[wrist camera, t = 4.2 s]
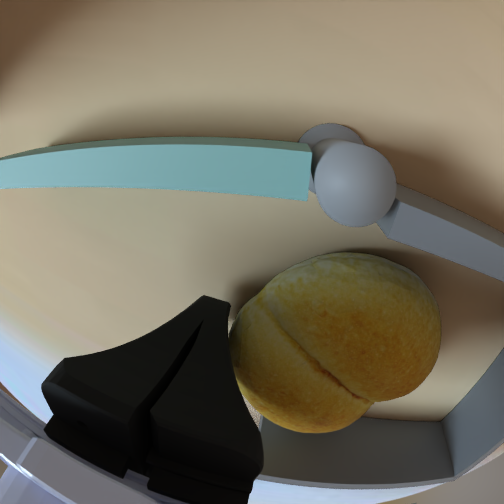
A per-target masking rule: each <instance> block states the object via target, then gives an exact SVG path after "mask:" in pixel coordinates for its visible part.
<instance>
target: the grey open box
mask: <svg viewBox="0 0 504 504" xmlns="http://www.w3.org/2000/svg"><path fill="white" fill-rule="evenodd" d="M327 138H336V139H341V140H345V141H349V142H353V143H357V144H360V145H364V143H363V141H362V140H361V138H360V137H359V136H358V135H357V134H356V133H355V132H354V131H352V130H351V129H349V128H347V127H345V126H342V125H339V124H333V123H327V124H321V125H318V126H315V127H313V128H311V129H310V130H308V131H307V132H306V133H305V134H304V135H303V136H302V137H301V138H300V140H299V141H298V143H307V144H308V146H309V148H310V149H311V150H312V148H313V147H314V146H315V145H316V144H317V143H318V142H319V141H321V140H323V139H327ZM364 146H365V145H364ZM396 185H397V189H396V195H395V199H394V202H393V204H392V206H391V208H390V209H389V211H388V212H387V213H386V214H385V215H384V216H383V217H382V218H381V219H380V220H378V221H377V222H376V223H377V224H378V226H379V227H380V228H381V230H382V231H383V232H384V234H385V235H386V237H387V238H389V239H392V240H395V241H398V242H400V243H403V244H406V245H409V246H412V247H415V248H418V249H420V250H423V251H426V252H429V253H431V254H434V255H437V256H439V257H442V258H445V259H447V260H450V261H453V262H455V263H458V264H460V265H463V266H466V267H468V268H471V269H473V270H476V271H478V272H481V273H483V274H486V275H488V276H491V277H493V278H495V279H498V280H500V281H503V282H504V233H502V232H500V231H498V230H496V229H495V228H493V227H491V226H489V225H487V224H485V223H483V222H481V221H479V220H477V219H475V218H473V217H471V216H469V215H467V214H465V213H463V212H461V211H459V210H457V209H455V208H453V207H451V206H449V205H446V204H444V203H442V202H440V201H438V200H435V199H433V198H431V197H429V196H426V195H424V194H422V193H419V192H417V191H414V190H412V189H410V188H407V187H405V186H402V185H400V184H397V183H396ZM309 190H310V191H312V192H313V193H315V194H316V190H315V186H314V182H313V178H312V174H311V170H310V180H309ZM259 431H260V433H261V438H262V443H263V451H264V466H263V470H262V472H261V473H260V474H259V475H258V477H257V478H256V479H258V480H264V481H270V482H276V483H282V484H290V485H298V486H307V487H318V488H332V489H390V488H404V487H415V486H424V485H431V484H438V483H444V482H450V481H454V480H456V479H457V478H459V477H460V476H462V475H463V474H465V473H466V472H467V471H469V470H470V469H472V468H473V467H474V466H476V465H477V464H478V463H480V462H481V461H482V460H483V459H485V458H486V457H487V456H488V455H490V454H491V453H492V452H493V451H494V450H496V449H497V448H498V447H499V446H500V445H501V444H503V443H504V348H503V350H502V351H501V353H500V354H499V355H498V357H497V358H496V359H495V361H494V362H493V363H492V365H491V366H490V367H489V369H488V370H487V371H486V372H485V374H484V375H483V376H482V377H481V379H480V380H479V381H478V382H477V383H476V385H475V386H474V387H473V388H472V389H471V390H470V391H469V393H468V394H467V395H466V396H465V397H464V398H463V399H462V400H461V401H460V403H459V404H458V405H457V406H456V407H455V408H454V409H453V410H452V411H451V412H450V413H449V414H448V415H447V416H446V417H445V418H444V419H443V420H442V421H441V422H422V421H401V420H387V419H376V418H366V417H360V418H359V419H358V420H356V421H355V422H353V423H352V424H350V425H349V426H347V427H345V428H342V429H340V430H336V431H333V432H327V433H302V432H296V431H293V430H290V429H286V428H283V427H281V426H279V425H277V424H275V423H273V422H272V421H270V420H268V419H267V418H265V417H264V416H263V415H262V414H261V418H260V423H259Z"/></svg>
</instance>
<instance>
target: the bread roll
mask: <svg viewBox="0 0 504 504" xmlns="http://www.w3.org/2000/svg"><path fill="white" fill-rule="evenodd" d="M440 342H441V321H440V313H439V308H438V305H437V302H436V300H435V298H434V296H433V294H432V293H431V292H430V291H429V289H428V287H427V286H426V284H425V283H424V282H423V281H422V280H421V279H420V278H419V276H418V275H416V274H415V273H414V272H412V271H411V270H410V269H408V268H406V267H404V266H402V265H399V264H397V263H394V262H392V261H389V260H387V259H385V258H382V257H378V256H375V255H371V254H362V253H348V252H342V253H332V254H326V255H320V256H316V257H313V258H311V259H308V260H306V261H303V262H301V263H298V264H296V265H294V266H292V267H290V268H288V269H287V270H285V271H283V272H281V273H279V274H278V275H277V276H275V277H274V278H273V279H272V280H271V281H270V282H269V283H268V284H266V286H265V287H264V288H263V289H262V290H261V291H260V293H259V294H257V295H256V296H254V297H253V298H252V299H250V300H249V301H248V302H247V303H246V304H245V305H244V306H243V307H242V308H241V310H240V311H239V313H238V315H237V317H236V318H235V320H234V322H233V324H232V327H231V330H230V332H229V348H230V354H231V360H232V365H233V369H234V373H235V376H236V380H237V383H238V386H239V388H240V391H241V393H242V394H243V395H244V397H245V398H246V399H247V400H248V401H249V403H250V404H251V405H252V406H253V407H254V408H255V409H256V410H257V411H258V412H259V413H261V414H262V415H263V416H264V417H265V418H267V419H268V420H270V421H272V422H273V423H275V424H277V425H279V426H281V427H283V428H286V429H290V430H293V431H296V432H302V433H327V432H333V431H336V430H340V429H342V428H345V427H347V426H349V425H350V424H352V423H353V422H355V421H356V420H358V419H359V418H360V417H361V416H362V415H363V414H364V413H365V412H366V411H367V410H368V409H369V408H370V407H371V405H373V404H374V402H381V401H388V400H392V399H395V398H399V397H402V396H405V395H407V394H409V393H410V392H412V391H413V390H415V389H416V388H417V387H418V386H419V385H420V384H421V383H422V382H423V381H424V380H425V379H426V377H427V376H428V375H429V373H430V372H431V370H432V369H433V367H434V365H435V363H436V360H437V358H438V353H439V349H440Z"/></svg>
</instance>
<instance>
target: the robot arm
mask: <svg viewBox="0 0 504 504" xmlns="http://www.w3.org/2000/svg"><path fill="white" fill-rule="evenodd" d="M230 308H231V305H230V303H229V302H225V301H222V300H219V299H215V298H212V297H209V296H205V295H203V296H201V297H200V298H199V299H198V300H196V301H195V302H194V303H193V304H192V305H190V306H189V307H188V308H187V309H185V310H184V311H183V312H181V313H180V314H178V315H177V316H176V317H174V318H173V319H171V320H170V321H168V322H167V323H165V324H163V325H162V326H160V327H159V328H157V329H155V330H153V331H152V332H150V333H148V334H146V335H144V336H142V337H140V338H138V339H135V340H133V341H131V342H128V343H126V344H123V345H121V346H118V347H115V348H112V349H108V350H105V351H101V352H97V353H93V354H88V355H82V356H76V357H69V358H64V359H63V360H62V361H61V362H60V363H59V364H58V365H57V366H56V367H55V368H54V369H53V371H52V372H51V373H50V374H49V376H48V377H47V378H46V379H45V380H44V382H43V383H42V386H41V389H42V393H43V395H44V397H45V399H46V401H47V403H48V405H49V407H50V409H51V411H52V413H53V414H54V415H53V416H52V418H51V419H50V420H49V422H48V423H47V424H46V423H44V422H43V421H41V420H40V419H39V418H37V417H36V416H34V415H33V414H31V413H30V412H29V411H27V410H26V409H25V408H24V407H22V406H21V405H20V404H18V403H17V402H16V401H15V400H13V399H12V398H11V397H10V396H9V395H7V394H6V393H5V392H4V391H3V390H1V389H0V459H1V460H2V461H3V462H5V463H6V464H7V465H8V468H7V469H6V471H5V472H4V474H3V476H2V477H1V479H0V504H247V503H248V499H249V494H250V493H251V491H252V487H253V482H254V480H255V479H256V478H257V477H258V475H259V474H260V473H261V472H262V470H263V466H264V451H263V443H262V438H261V433H260V431H259V429H258V427H257V426H256V424H255V422H254V420H253V418H252V416H251V415H250V412H249V410H248V408H247V406H246V404H245V402H244V399H243V396H242V394H241V391H240V388H239V386H238V383H237V380H236V376H235V373H234V369H233V365H232V360H231V354H230V348H229V338H228V317H229V313H230ZM413 504H416V503H413Z"/></svg>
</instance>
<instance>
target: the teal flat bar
mask: <svg viewBox="0 0 504 504" xmlns="http://www.w3.org/2000/svg"><path fill="white" fill-rule="evenodd" d="M310 170H311V174H312V178H313V182H314V186H315V190H316V195H317V198H318V201H319V203H320V205H321V207H322V209H323V210H324V212H325V213H326V214H327V215H328V216H329V217H330V218H331V219H333V220H334V221H336V222H338V223H340V224H342V225H345V226H350V227H363V226H367V225H370V224H373V223H375V222H377V221H378V220H380V219H381V218H382V217H383V216H384V215H385V214H386V213H387V212H388V211H389V209H390V208H391V206H392V204H393V202H394V199H395V195H396V189H397V185H396V177H395V173H394V171H393V168H392V166H391V165H390V163H389V161H388V160H387V159H386V158H385V157H384V156H383V155H382V154H381V153H380V152H378V151H377V150H375V149H373V148H370V147H368V146H364V145H360V144H357V143H353V142H349V141H345V140H341V139H336V138H327V139H323V140H321V141H319V142H318V143H317V144H316V145H315V146H314V147H313V148H312V150H311V149H310V148H309V146H308V144H307V143H297V142H287V141H276V140H264V139H248V138H227V137H149V138H128V139H113V140H101V141H91V142H81V143H73V144H65V145H57V146H51V147H44V148H38V149H33V150H29V151H25V152H21V153H17V154H13V155H9V156H5V157H2V158H0V189H8V188H35V187H118V188H149V189H171V190H188V191H204V192H218V193H231V194H242V195H254V196H264V197H274V198H284V199H293V200H302V201H307V198H308V189H309V180H310Z"/></svg>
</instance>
